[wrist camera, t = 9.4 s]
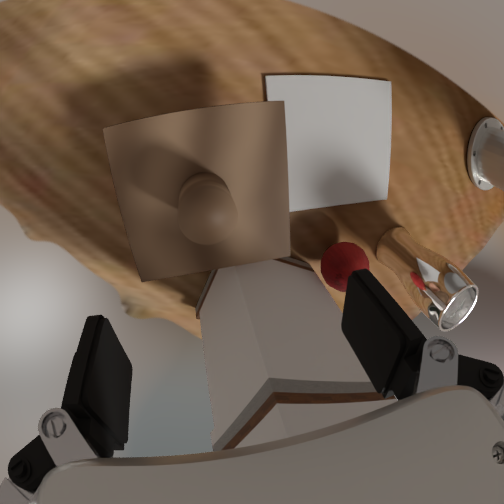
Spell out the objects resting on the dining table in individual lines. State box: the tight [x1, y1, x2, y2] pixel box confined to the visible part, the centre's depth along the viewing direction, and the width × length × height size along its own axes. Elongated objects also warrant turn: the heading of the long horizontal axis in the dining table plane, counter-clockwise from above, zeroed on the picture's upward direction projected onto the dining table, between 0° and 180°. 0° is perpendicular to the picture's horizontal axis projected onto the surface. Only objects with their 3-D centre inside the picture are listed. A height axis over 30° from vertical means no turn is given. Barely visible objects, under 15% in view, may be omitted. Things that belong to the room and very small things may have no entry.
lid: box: [103, 101, 290, 282], centre depth 22 cm, size 14×14×6 cm
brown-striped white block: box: [196, 257, 397, 452], centre depth 23 cm, size 11×11×35 cm
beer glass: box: [376, 227, 478, 332], centre depth 33 cm, size 7×7×15 cm
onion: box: [321, 242, 369, 292], centre depth 34 cm, size 6×6×8 cm
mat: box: [265, 75, 392, 212], centre depth 30 cm, size 15×15×1 cm
